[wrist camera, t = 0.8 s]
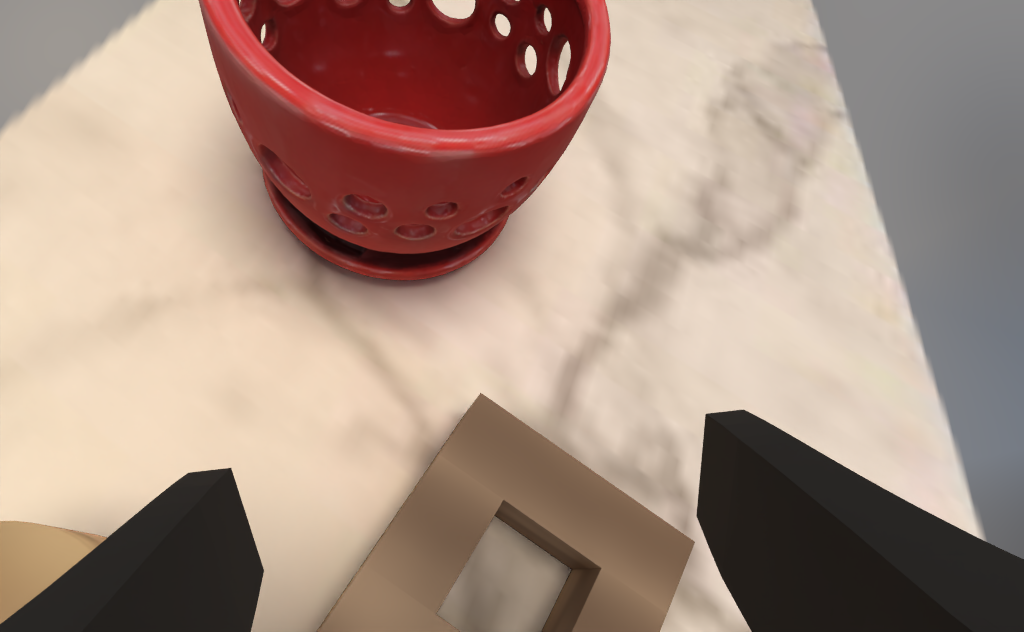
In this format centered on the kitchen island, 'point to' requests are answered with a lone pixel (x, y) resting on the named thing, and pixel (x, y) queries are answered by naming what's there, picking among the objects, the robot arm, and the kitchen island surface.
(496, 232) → the plant pot
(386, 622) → the brown flat rectangular block
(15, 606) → the oak peg
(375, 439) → the kitchen island surface
